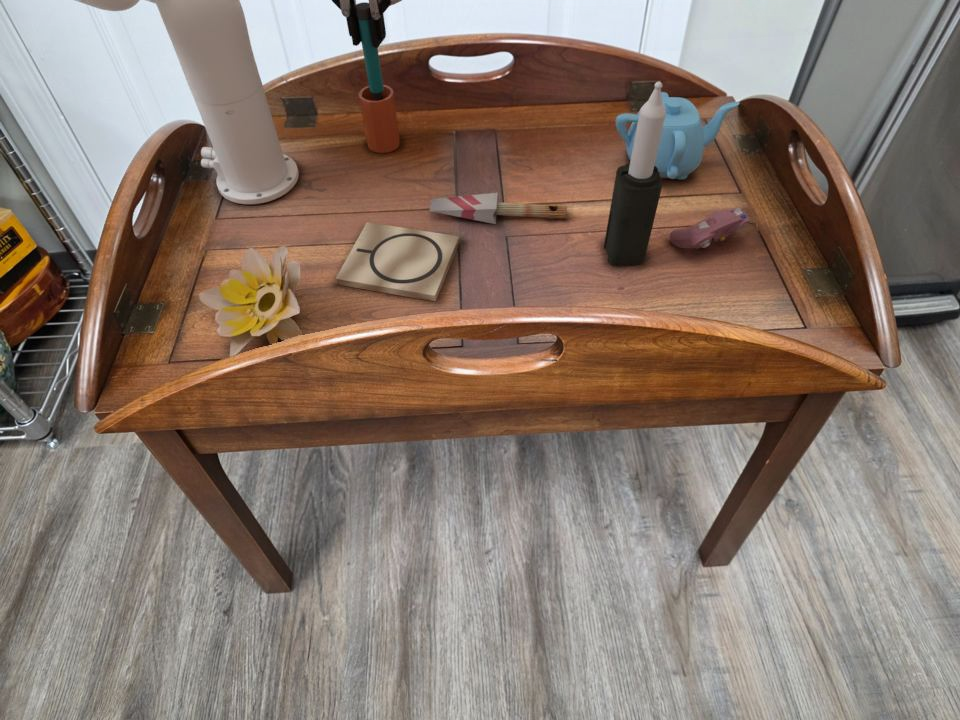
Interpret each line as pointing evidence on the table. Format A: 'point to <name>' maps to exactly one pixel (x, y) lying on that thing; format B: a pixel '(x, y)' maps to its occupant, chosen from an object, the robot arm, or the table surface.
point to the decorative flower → (256, 300)
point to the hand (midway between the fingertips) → (368, 41)
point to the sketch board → (399, 261)
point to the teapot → (677, 135)
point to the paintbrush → (492, 208)
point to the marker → (369, 51)
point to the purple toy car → (710, 229)
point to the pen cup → (380, 120)
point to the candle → (637, 189)
